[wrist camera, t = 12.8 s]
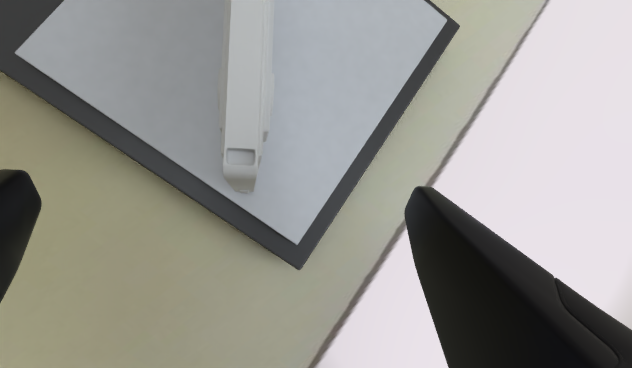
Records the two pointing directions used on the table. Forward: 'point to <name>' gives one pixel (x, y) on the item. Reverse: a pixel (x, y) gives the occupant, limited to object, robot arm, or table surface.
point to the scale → (202, 100)
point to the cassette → (245, 89)
